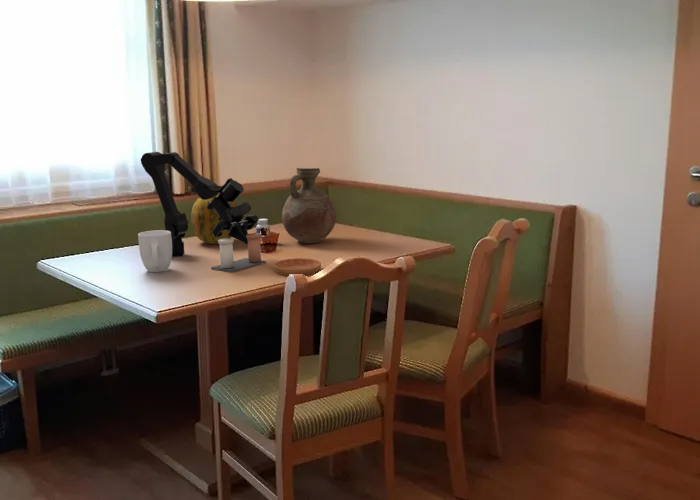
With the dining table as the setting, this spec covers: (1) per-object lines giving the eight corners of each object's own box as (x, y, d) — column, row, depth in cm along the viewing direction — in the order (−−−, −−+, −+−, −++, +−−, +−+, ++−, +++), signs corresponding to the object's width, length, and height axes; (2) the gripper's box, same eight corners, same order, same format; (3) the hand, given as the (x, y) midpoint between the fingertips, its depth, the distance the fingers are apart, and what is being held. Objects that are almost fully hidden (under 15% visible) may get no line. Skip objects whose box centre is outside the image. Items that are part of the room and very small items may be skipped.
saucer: (326, 267, 254) (326, 258, 254) (314, 278, 239) (313, 269, 238) (282, 265, 258) (282, 257, 257) (267, 276, 243) (267, 268, 242)
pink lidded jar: (244, 261, 260) (242, 235, 258) (254, 258, 264) (253, 232, 262) (255, 263, 257) (253, 236, 255) (265, 260, 261) (264, 234, 259)
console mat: (211, 269, 254) (211, 267, 254) (245, 259, 267) (245, 257, 267) (232, 272, 248) (231, 270, 248) (266, 262, 261) (266, 261, 261)
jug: (347, 239, 298) (345, 165, 292) (316, 250, 280) (314, 171, 274) (303, 235, 310) (301, 163, 303) (271, 244, 292) (268, 169, 285)
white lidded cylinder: (216, 267, 252) (214, 240, 250) (227, 264, 257) (225, 237, 255) (227, 269, 249) (225, 241, 247) (238, 265, 254) (236, 239, 252)
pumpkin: (205, 237, 309) (202, 178, 304) (248, 238, 304) (244, 178, 299) (184, 246, 292) (180, 183, 287) (228, 248, 287) (225, 184, 281)
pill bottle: (268, 244, 292) (267, 220, 289) (255, 244, 293) (253, 220, 291) (272, 242, 297) (271, 218, 295) (259, 241, 298) (258, 218, 296)
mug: (173, 275, 246) (171, 237, 243) (139, 277, 244) (136, 239, 241) (174, 265, 260) (171, 229, 258) (141, 267, 258) (138, 231, 255)
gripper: (216, 199, 253) (241, 233, 249) (253, 192, 268) (277, 225, 264) (201, 220, 259) (226, 254, 255) (239, 212, 274) (262, 244, 270)
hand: (249, 243), depth 261 cm, fingers closed, pressing on pink lidded jar
